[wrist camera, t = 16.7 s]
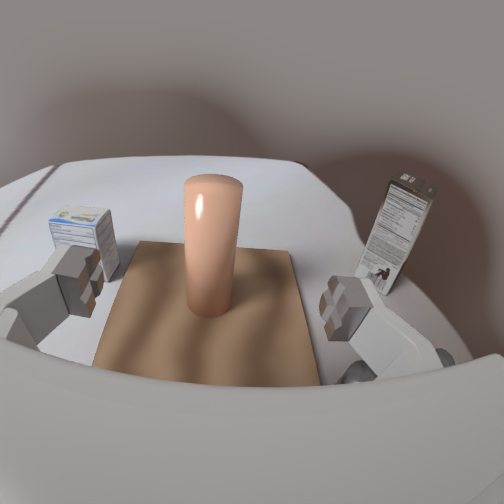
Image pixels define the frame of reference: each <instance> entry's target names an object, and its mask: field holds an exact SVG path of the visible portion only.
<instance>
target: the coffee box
mask: <svg viewBox="0 0 504 504" xmlns="http://www.w3.org/2000/svg"><path fill="white" fill-rule="evenodd" d="M436 190H437V187H436V186H434V185H432V184H430V183H428V182H426V181H425V180H423V179H421V178H420V177H418V176H415V175H414V174H411V173H409V172H407V171H405V170H401V171H400V172H398V173H397V174H396V175H394V176H393V177H392V178H390V180H389V184H388V186H387V190H386V193H385V195H384V199H383V201H382V204H381V207H380V210H379V213H378V216H377V219H376V221H375V224H374V227H373V229H372V232H371V234H370V237H369V239H368V242H367V244H366V247H365V249H364V252H363V254H362V257H361V259H360V261H359V264H358V266H357V269H356V271H355V273H354V277H362V278H369V279H370V280H371V281H372V283H373V285H374V286H375V288H376V290H377V291H378V292H380V293H382V294H383V295H385V296H387V295H388V294H389V292H390V290H391V288H392V287H393V285H394V283H395V281H396V280H397V278H398V276H399V274H400V272H401V271H402V269H403V267H404V265H405V263H406V261H407V259H408V257H409V255H410V253H411V251H412V249H413V246H414V244H415V242H416V240H417V238H418V236H419V234H420V231H421V229H422V227H423V224H424V222H425V220H426V217H427V215H428V212H429V210H430V207H431V204H432V202H433V199H434V196H435V193H436Z"/></svg>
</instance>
